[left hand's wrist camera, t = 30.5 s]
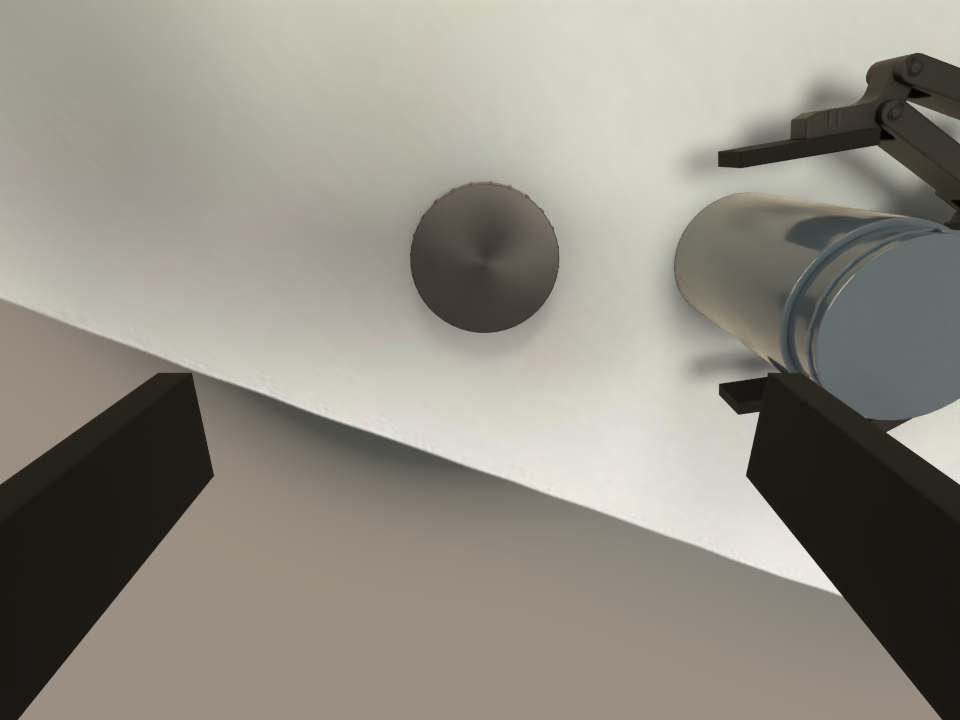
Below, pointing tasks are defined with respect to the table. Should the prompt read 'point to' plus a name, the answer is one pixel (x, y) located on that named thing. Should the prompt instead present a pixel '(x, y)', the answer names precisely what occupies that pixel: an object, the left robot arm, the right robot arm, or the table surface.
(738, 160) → the right robot arm
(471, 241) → the lid
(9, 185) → the table surface
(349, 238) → the table surface
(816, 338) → the jar
